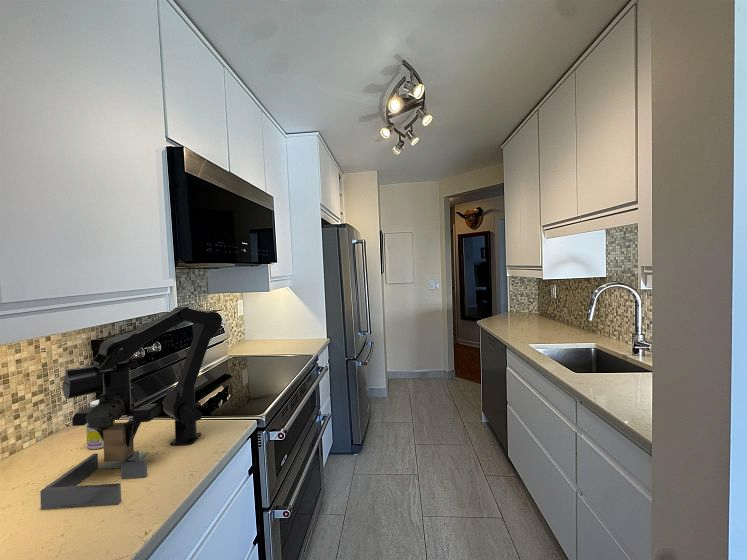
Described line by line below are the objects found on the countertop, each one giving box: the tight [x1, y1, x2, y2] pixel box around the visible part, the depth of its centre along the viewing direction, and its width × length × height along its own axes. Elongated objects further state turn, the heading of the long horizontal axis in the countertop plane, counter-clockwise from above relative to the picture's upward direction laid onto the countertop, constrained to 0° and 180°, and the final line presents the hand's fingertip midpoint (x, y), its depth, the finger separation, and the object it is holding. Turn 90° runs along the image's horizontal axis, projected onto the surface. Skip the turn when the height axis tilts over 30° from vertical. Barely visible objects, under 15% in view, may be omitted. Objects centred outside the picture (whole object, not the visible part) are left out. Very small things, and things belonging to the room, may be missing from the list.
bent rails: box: [39, 450, 148, 511], centre depth 82 cm, size 16×16×4 cm
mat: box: [100, 451, 149, 470], centre depth 93 cm, size 7×8×1 cm
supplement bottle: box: [85, 399, 116, 450], centre depth 102 cm, size 7×7×13 cm
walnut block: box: [103, 421, 135, 463], centre depth 90 cm, size 4×4×8 cm
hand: (119, 446), depth 90 cm, fingers closed on walnut block, 4 cm apart
